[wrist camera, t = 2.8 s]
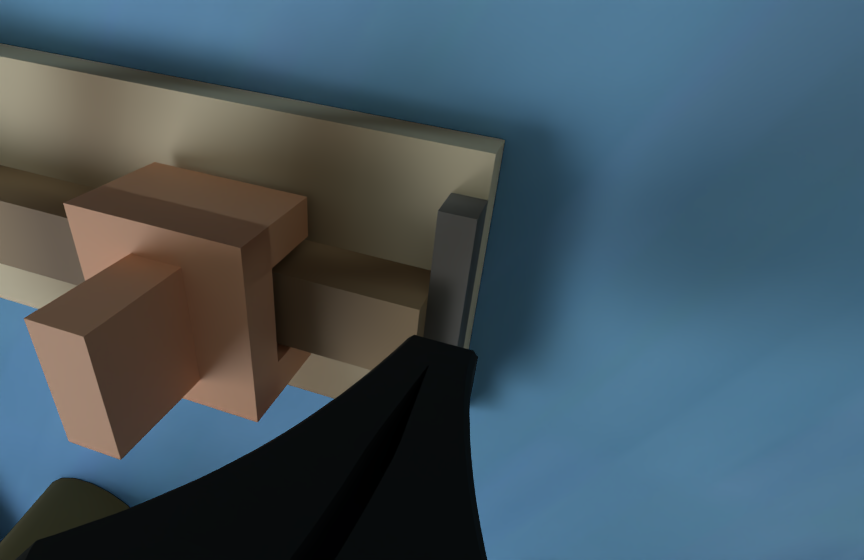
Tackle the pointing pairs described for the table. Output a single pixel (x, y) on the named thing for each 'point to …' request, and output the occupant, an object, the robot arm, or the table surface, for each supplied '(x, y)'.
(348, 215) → the rail board
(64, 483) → the cork
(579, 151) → the table surface
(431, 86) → the table surface
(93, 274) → the slider
